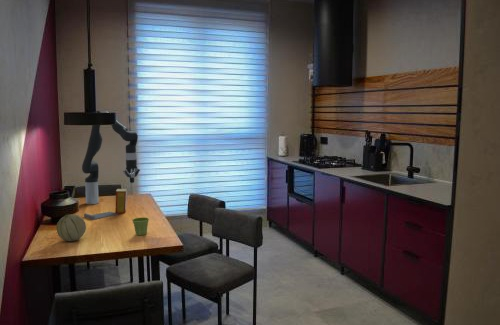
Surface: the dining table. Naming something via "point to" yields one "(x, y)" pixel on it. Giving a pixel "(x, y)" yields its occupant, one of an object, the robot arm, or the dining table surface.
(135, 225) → the plant pot
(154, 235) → the dining table surface
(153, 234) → the dining table surface
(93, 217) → the bookend
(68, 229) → the cantaloupe
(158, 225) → the dining table surface
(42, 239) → the dining table surface
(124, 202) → the baking soda box
